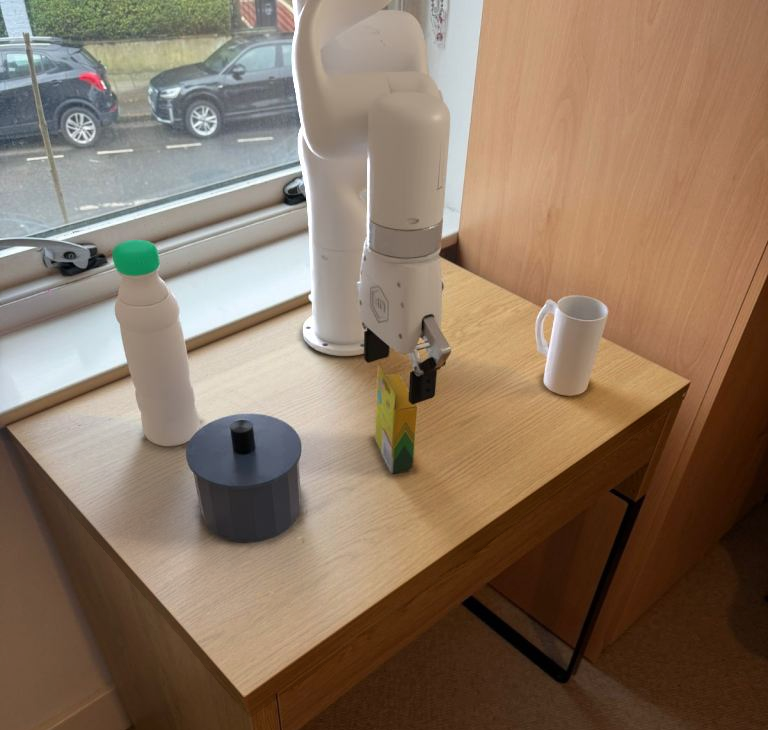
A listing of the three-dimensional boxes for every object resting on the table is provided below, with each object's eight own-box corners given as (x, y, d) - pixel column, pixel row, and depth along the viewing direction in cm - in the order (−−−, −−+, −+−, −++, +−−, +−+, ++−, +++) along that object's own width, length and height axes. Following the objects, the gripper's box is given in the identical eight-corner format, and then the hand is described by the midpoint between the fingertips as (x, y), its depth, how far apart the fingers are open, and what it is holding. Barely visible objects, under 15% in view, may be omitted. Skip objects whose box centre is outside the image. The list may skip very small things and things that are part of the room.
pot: (182, 507, 89) (170, 450, 83) (258, 462, 95) (252, 407, 89) (244, 558, 83) (235, 502, 77) (320, 507, 89) (318, 451, 83)
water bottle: (210, 422, 100) (180, 238, 83) (183, 454, 95) (144, 266, 78) (163, 410, 102) (123, 227, 84) (134, 441, 97) (85, 254, 80)
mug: (598, 385, 109) (618, 309, 101) (569, 403, 106) (588, 326, 97) (543, 355, 114) (558, 281, 106) (514, 372, 111) (527, 296, 102)
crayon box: (413, 471, 94) (419, 393, 86) (390, 475, 94) (394, 397, 86) (396, 435, 99) (399, 358, 91) (374, 438, 99) (376, 362, 91)
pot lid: (164, 454, 83) (157, 425, 80) (253, 407, 90) (249, 378, 87) (235, 511, 77) (231, 481, 74) (325, 456, 84) (324, 426, 81)
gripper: (330, 210, 80) (333, 352, 92) (420, 276, 69) (411, 427, 81) (390, 197, 83) (386, 337, 95) (486, 259, 72) (468, 407, 84)
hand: (398, 378), depth 88 cm, fingers open, 9 cm apart
